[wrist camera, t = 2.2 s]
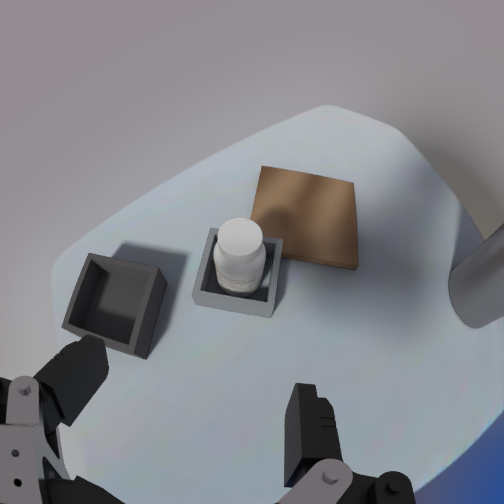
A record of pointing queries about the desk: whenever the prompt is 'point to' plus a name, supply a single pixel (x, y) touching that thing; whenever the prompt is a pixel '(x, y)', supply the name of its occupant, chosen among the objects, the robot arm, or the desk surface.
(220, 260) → the pill bottle
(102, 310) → the box
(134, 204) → the desk surface
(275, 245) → the sleeve
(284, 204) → the walnut pad
